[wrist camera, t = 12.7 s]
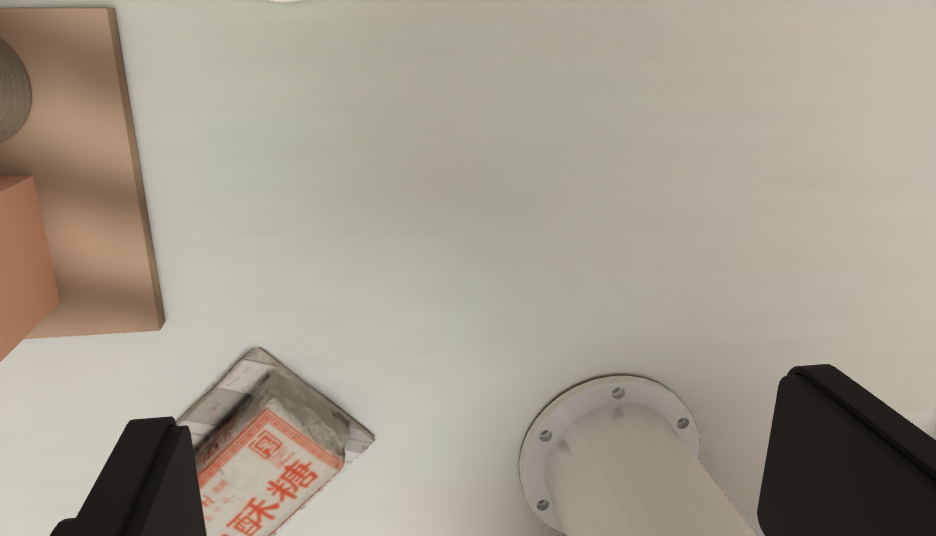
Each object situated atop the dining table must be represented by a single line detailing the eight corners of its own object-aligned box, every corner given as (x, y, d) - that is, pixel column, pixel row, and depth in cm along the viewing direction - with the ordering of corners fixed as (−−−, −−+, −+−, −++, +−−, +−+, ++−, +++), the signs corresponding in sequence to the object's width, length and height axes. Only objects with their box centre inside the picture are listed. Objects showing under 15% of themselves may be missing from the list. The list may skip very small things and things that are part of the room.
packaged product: (244, 376, 38) (378, 475, 41) (255, 337, 42) (375, 430, 46) (32, 586, 40) (176, 663, 44) (64, 528, 45) (192, 602, 48)
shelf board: (165, 321, 41) (148, 349, 37) (-65, 335, 39) (-105, 366, 35) (114, 8, 35) (89, 7, 31) (-159, 8, 33) (-216, 7, 30)
